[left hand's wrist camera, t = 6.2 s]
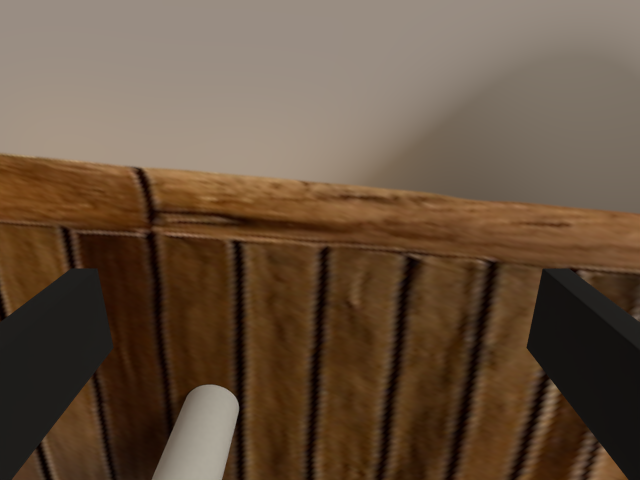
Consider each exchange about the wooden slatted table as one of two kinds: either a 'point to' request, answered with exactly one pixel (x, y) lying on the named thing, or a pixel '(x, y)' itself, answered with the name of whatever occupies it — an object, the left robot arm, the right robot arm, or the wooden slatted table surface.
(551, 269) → the left robot arm
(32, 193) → the wooden slatted table surface
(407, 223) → the wooden slatted table surface
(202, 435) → the bottle
